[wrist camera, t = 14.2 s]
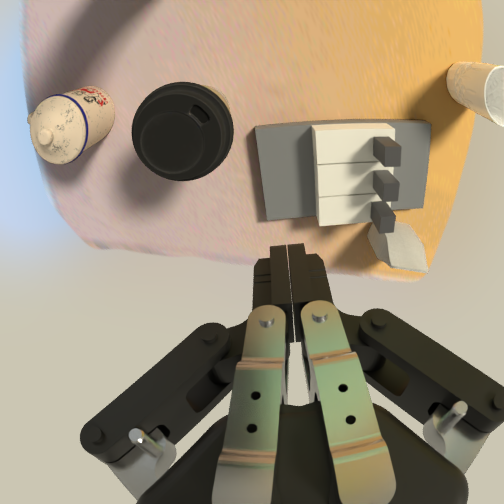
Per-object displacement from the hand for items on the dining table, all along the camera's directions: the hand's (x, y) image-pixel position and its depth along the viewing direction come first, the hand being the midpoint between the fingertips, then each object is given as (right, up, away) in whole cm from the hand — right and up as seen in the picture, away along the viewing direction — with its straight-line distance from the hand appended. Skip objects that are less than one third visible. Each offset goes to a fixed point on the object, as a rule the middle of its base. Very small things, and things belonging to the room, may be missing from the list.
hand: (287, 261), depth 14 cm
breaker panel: (+12, +12, +26) cm, 31 cm away
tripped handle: (+14, +10, +22) cm, 28 cm away
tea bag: (+20, +4, +33) cm, 39 cm away
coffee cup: (-8, +19, +23) cm, 30 cm away
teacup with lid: (-26, +21, +22) cm, 40 cm away
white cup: (+29, +25, +17) cm, 42 cm away
